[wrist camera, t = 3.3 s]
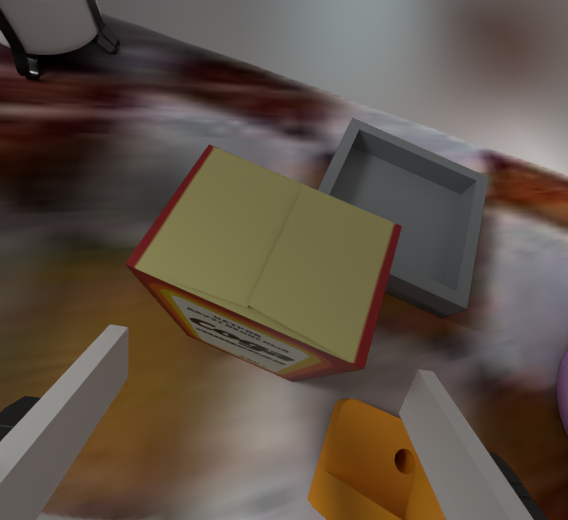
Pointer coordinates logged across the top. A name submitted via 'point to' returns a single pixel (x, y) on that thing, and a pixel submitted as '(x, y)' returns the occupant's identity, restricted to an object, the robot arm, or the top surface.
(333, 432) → the bracket
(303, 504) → the top surface
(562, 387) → the teapot
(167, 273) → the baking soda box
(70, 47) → the coffee press
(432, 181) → the tray
